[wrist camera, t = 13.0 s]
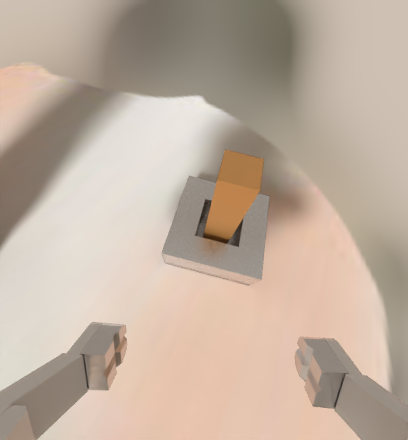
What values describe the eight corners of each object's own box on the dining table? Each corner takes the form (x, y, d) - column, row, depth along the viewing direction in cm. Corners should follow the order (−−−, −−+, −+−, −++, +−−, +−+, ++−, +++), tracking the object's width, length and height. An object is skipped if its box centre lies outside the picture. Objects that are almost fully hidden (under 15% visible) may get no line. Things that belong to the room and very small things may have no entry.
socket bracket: (165, 263, 26) (161, 253, 22) (188, 194, 32) (189, 175, 27) (248, 285, 26) (261, 279, 22) (257, 212, 31) (269, 196, 27)
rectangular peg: (202, 240, 27) (217, 179, 15) (207, 220, 29) (225, 149, 16) (225, 246, 27) (260, 190, 15) (229, 225, 29) (264, 159, 16)
